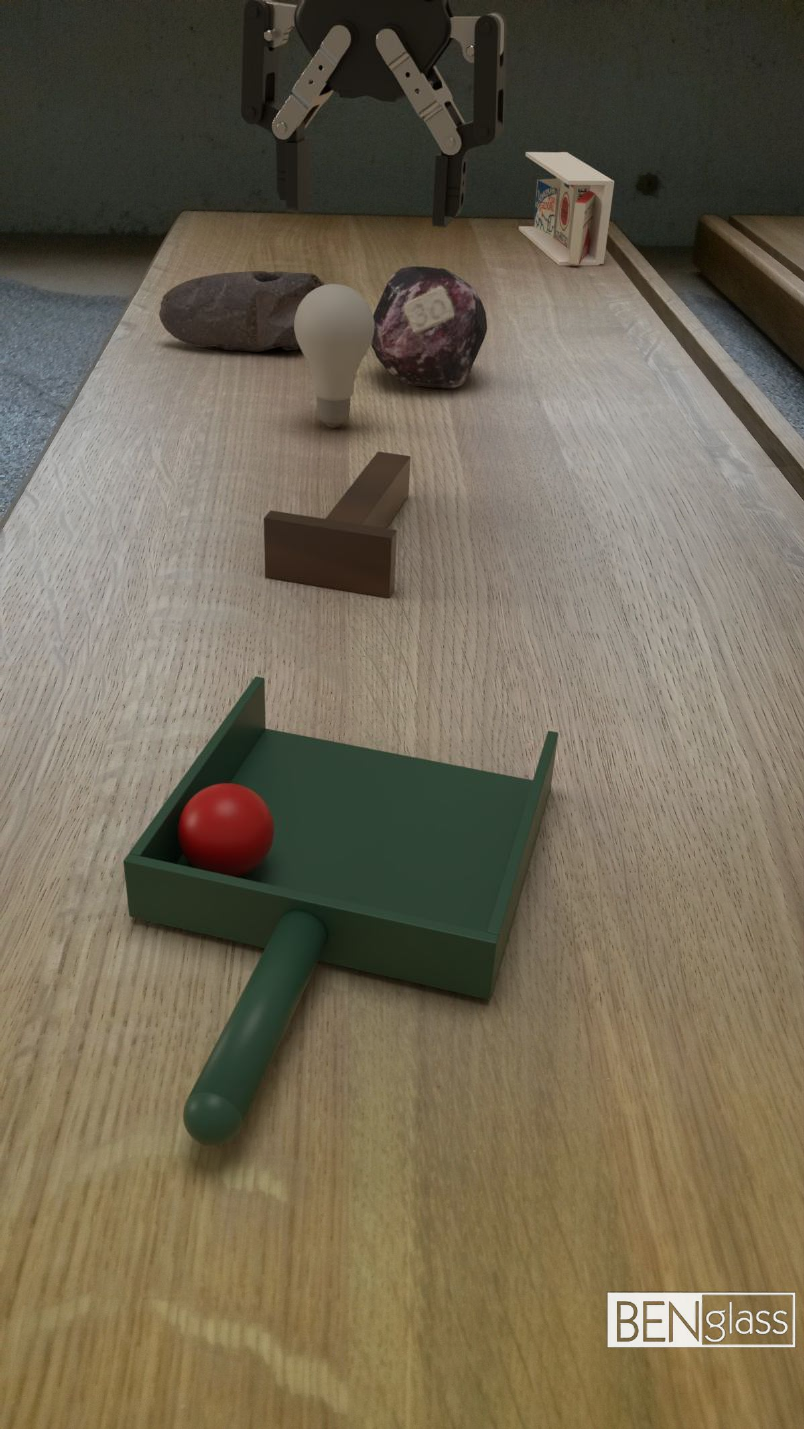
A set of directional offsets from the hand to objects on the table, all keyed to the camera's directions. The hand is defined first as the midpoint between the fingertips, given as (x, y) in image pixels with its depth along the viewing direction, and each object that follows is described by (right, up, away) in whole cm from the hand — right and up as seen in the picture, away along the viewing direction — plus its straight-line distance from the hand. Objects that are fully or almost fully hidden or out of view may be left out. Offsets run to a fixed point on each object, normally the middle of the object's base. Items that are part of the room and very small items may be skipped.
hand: (369, 217), depth 69 cm
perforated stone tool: (-13, +6, +44) cm, 46 cm away
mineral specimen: (+4, +1, +39) cm, 39 cm away
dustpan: (-1, -37, -19) cm, 42 cm away
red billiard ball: (-6, -33, -18) cm, 38 cm away
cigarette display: (+22, +30, +83) cm, 91 cm away
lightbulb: (-4, -5, +28) cm, 29 cm away
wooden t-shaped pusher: (-1, -16, +12) cm, 20 cm away
